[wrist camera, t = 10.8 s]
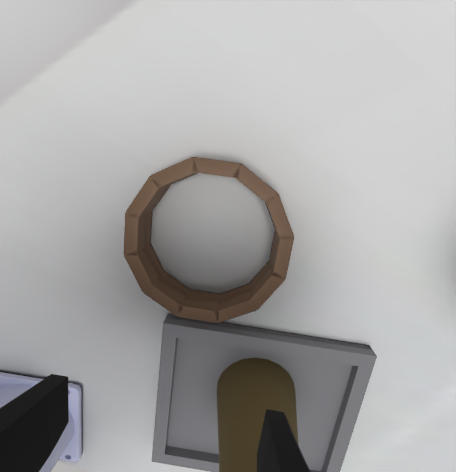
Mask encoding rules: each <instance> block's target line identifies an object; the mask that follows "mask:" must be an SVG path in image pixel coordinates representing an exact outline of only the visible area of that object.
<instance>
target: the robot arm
mask: <svg viewBox="0 0 456 472" xmlns="http://www.w3.org/2000/svg"><path fill="white" fill-rule="evenodd" d="M81 455H82V427H81V388H80V386H78V385H76V384H70V383H68V377H65V376H59V375H53V374H51V375H50V376H48V377H47V378H45V379H39V378H33V377H27V376H21V375H15V374H9V373H3V372H0V472H51V470H52V469H53V467H54V466H55V464H56V463H57V461H58V459H59V460H64V461H70V462H77V461H79V459H80V458H81ZM257 472H311V471H310V469H309V467H308V465H307V463H306V461H305V459H304V457H303V455H302V452H301V450H300V448H299V446H298V444H297V441H296V439H295V437H294V434H293V432H292V429H291V427H290V425H289V422H288V419H287V417H286V415H285V413H284V412H280V411H274V410H268V409H266V413H265V418H264V422H263V427H262V432H261V436H260V441H259V446H258V450H257Z"/></svg>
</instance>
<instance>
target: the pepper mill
mask: <svg viewBox="0 0 456 472" xmlns="http://www.w3.org/2000/svg"><path fill="white" fill-rule="evenodd" d="M266 409H268V410H274V411H280V412H284V413H285V415H286V417H287V419H288V422H289V425H290V427H291V429H292V432H293V434H294V437H295V439H296V441H297V444H298V428H297V411H296V393H295V386H294V381H293V380H292V378H291V376H290V375H289V373H288V372H287V371H286V370H285V369H284V368H283V367H282V366H280V365H279V364H277V363H275V362H273V361H270V360H268V359H262V358H247V359H242V360H239V361H237V362H235V363H232V364H231V365H230V366H229V367H227V368H226V369H225V370H224V371H223V372H222V374H221V376H220V378H219V380H218V384H217V417H218V447H219V472H257V450H258V446H259V441H260V436H261V432H262V427H263V422H264V418H265V413H266Z"/></svg>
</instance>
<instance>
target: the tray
mask: <svg viewBox="0 0 456 472" xmlns="http://www.w3.org/2000/svg"><path fill="white" fill-rule="evenodd" d="M376 357H377V356H376V355H375V353H374V352H373V350H372V349H371V347H370V346H369V345H363V344H356V343H350V342H343V341H337V340H331V339H324V338H318V337H311V336H305V335H298V334H292V333H285V332H279V331H273V330H266V329H260V328H253V327H247V326H240V325H234V324H227V323H221V322H220V323H219V322H218V323H214V322H208V321H202V320H195V319H189V318H182V317H178V316H175V315H169V314H168V316H167V317H166V319H165V321H164V323H163V335H162V347H161V359H160V370H159V382H158V394H157V406H156V417H155V429H154V441H153V452H152V462H158V463H164V464H170V465H175V466H181V467H187V468H193V469H199V470H205V471H211V472H219V447H218V417H217V384H218V380H219V378H220V376H221V374H222V372H223V371H224V370H225V369H226V368H227V367H229V366H230V365H231V364H232V363H235V362H237V361H239V360H242V359H247V358H262V359H268V360H270V361H273V362H275V363H277V364H279V365H280V366H282V367H283V368H284V369H285V370H286V371H287V372H288V373H289V375H290V376H291V378H292V380H293V381H294V386H295V393H296V411H297V428H298V446H299V448H300V450H301V452H302V455H303V457H304V459H305V461H306V463H307V465H308V467H309V469H310V471H311V472H340V470H341V467H342V463H343V460H344V457H345V454H346V451H347V448H348V445H349V442H350V438H351V435H352V432H353V429H354V426H355V423H356V420H357V417H358V413H359V410H360V407H361V404H362V401H363V398H364V395H365V392H366V388H367V385H368V382H369V379H370V376H371V373H372V370H373V367H374V364H375V360H376Z"/></svg>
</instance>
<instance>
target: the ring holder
mask: <svg viewBox="0 0 456 472" xmlns="http://www.w3.org/2000/svg"><path fill="white" fill-rule="evenodd" d="M197 173H205V174H213V175H220V176H227V177H234V178H236V179H237V180H239V181H240V182H241V183H242V184H244V185H245V186H246V187H247V188H249V189H250V190H251V191H252V192H254V193H255V194H256V195H257V196H259V197H260V198H261V199H262V200H264V201H265V203H266V206H267V208H268V211H269V213H270V216H271V219H272V221H273V224H274V227H275V233H274V239H273V244H272V250H271V255H270V260H269V261H268V263H267V264H266V265H265V266H264V267H263V268H262V269H261V271H260V272H259V273H258V274H257V275H256V276H255V277H254V279H253V280H252V281H251V282H250V283H249V284H246V285H244V286H241V287H238V288H235V289H232V290H229V291H227V292H224V293H221V294H218V293H212V292H205V291H198V290H192V289H188V288H187V287H186V286H184V285H183V284H182V283H180V282H179V281H177V280H176V279H175V278H173V277H172V276H171V275H169V274H168V273H166V272H165V271H164V270H163V268H162V266H161V263H160V261H159V259H158V257H157V255H156V253H155V251H154V249H153V247H152V245H151V243H150V240H151V225H152V211H153V209H154V208H155V207H156V205H157V204H158V202H159V201H160V199H161V198H162V197H163V195H164V194H165V192H166V191H167V190H168V188H169V187H170V185H171V184H173V183H176V182H178V181H180V180H183V179H185V178H187V177H190V176H192V175H194V174H197ZM293 236H294V235H293V232H292V229H291V227H290V224H289V221H288V218H287V216H286V213H285V210H284V207H283V205H282V202H281V199H280V196H279V194H278V193H277V192H276V191H275V190H273V189H272V188H271V187H270V186H268V185H267V184H266V183H265V182H263V181H262V180H261V179H260V178H259V177H257V176H256V175H255V174H254V173H252V172H251V171H250V170H249V169H247V168H246V167H245V166H244V165H242V164H240V163H234V162H227V161H219V160H212V159H205V158H198V157H191V158H189V159H187V160H185V161H182V162H180V163H178V164H175V165H173V166H171V167H169V168H166V169H164V170H162V171H159V172H157V173H155V174H153V175H151V176H150V177H149V178H148V180H147V181H146V183H145V184H144V185H143V187H142V188H141V190H140V191H139V193H138V194H137V196H136V197H135V199H134V200H133V202H132V203H131V205H130V206H129V208H128V209H127V211H126V213H125V236H124V254H125V255H124V257H125V258H126V260H127V262H128V264H129V266H130V268H131V270H132V272H133V274H134V276H135V278H136V280H137V282H138V284H139V286H140V288H141V290H142V292H144V291H145V292H144V294H146V295H147V296H149V297H150V298H151V299H153V300H154V301H156V302H157V303H159V304H160V305H161V306H163V307H164V308H166V309H167V310H168V311H170V312H171V313H173V314H174V315H175V316H177V315H178V317H182V318H189V319H195V320H202V321H208V322H214V323H218V322H219V323H220V322H223V321H226V320H229V319H232V318H235V317H238V316H241V315H244V314H247V313H250V312H253V311H256V310H257V309H259V308H260V307H261V306H262V304H263V303H264V302H265V301H266V300H267V299H268V298H269V297H270V296H271V295H272V294H273V292H274V291H275V290H276V289H277V288H278V287H279V286H280V285H281V284H282V283H283V282H284V280H285V279H286V275H287V270H288V265H289V260H290V255H291V250H292V245H293V240H294V237H293Z"/></svg>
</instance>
